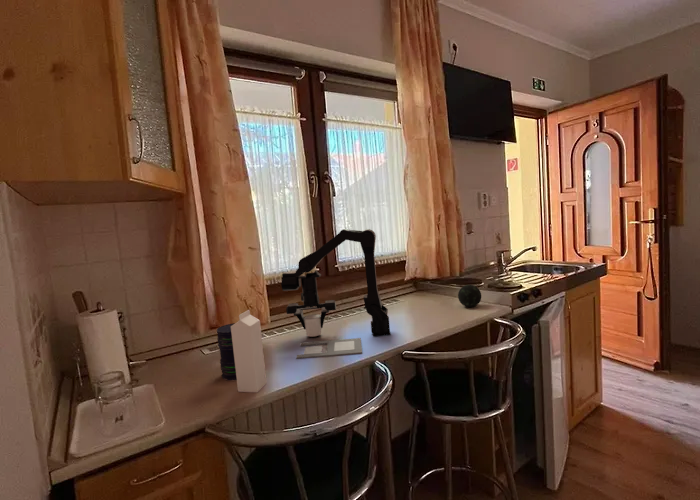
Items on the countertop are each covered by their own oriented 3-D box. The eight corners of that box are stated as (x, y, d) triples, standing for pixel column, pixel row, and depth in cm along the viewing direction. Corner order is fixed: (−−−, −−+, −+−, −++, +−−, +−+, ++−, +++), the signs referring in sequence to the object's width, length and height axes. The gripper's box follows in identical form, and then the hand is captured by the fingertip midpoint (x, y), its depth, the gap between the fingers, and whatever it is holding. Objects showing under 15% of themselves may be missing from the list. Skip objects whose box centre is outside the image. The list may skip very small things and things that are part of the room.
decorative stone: (454, 306, 188) (453, 284, 187) (473, 303, 191) (472, 281, 190) (466, 311, 179) (465, 288, 178) (486, 307, 182) (485, 285, 181)
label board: (360, 339, 153) (360, 337, 152) (362, 354, 138) (362, 351, 138) (301, 344, 153) (301, 342, 153) (296, 359, 138) (296, 357, 138)
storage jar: (223, 383, 122) (217, 334, 121) (219, 372, 131) (214, 326, 130) (257, 375, 126) (252, 327, 125) (251, 365, 135) (246, 320, 134)
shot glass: (325, 331, 163) (323, 314, 162) (318, 337, 156) (316, 319, 155) (309, 331, 165) (307, 314, 164) (302, 336, 158) (300, 318, 158)
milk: (237, 392, 116) (228, 315, 113) (248, 382, 122) (239, 309, 119) (257, 392, 114) (248, 314, 112) (267, 383, 120) (258, 309, 118)
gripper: (334, 283, 167) (338, 320, 168) (288, 287, 167) (292, 324, 168) (333, 288, 156) (337, 328, 157) (284, 292, 156) (288, 333, 157)
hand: (313, 328), depth 160 cm, fingers closed on shot glass, 6 cm apart
